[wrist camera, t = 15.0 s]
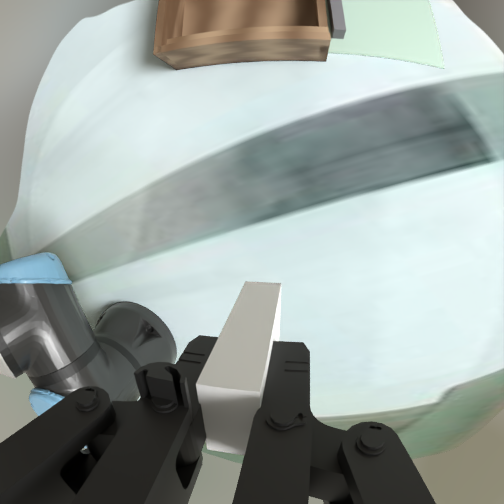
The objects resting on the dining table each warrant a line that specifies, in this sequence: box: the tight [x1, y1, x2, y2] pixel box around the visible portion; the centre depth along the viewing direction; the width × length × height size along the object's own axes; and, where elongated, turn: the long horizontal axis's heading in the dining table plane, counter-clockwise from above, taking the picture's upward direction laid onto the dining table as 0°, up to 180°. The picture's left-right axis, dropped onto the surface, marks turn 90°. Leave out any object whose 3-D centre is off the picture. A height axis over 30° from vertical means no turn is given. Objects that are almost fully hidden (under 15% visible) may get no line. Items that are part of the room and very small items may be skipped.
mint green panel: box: [325, 0, 445, 69], centre depth 27 cm, size 17×12×4 cm
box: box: [153, 0, 331, 70], centre depth 27 cm, size 20×15×7 cm
